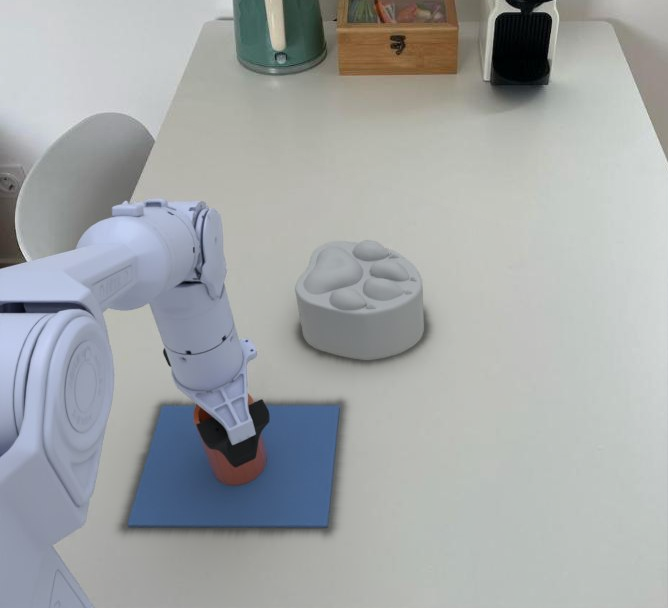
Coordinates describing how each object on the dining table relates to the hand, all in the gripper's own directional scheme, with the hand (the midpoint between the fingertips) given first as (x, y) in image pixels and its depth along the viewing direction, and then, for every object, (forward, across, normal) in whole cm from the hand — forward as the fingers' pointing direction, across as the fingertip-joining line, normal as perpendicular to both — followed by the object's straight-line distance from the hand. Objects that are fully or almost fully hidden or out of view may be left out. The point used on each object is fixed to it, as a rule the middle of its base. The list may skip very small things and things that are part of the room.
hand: (228, 428), depth 73 cm
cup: (+6, 0, 0) cm, 6 cm away
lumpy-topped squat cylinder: (+6, +10, -19) cm, 22 cm away
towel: (+6, 0, 0) cm, 6 cm away
